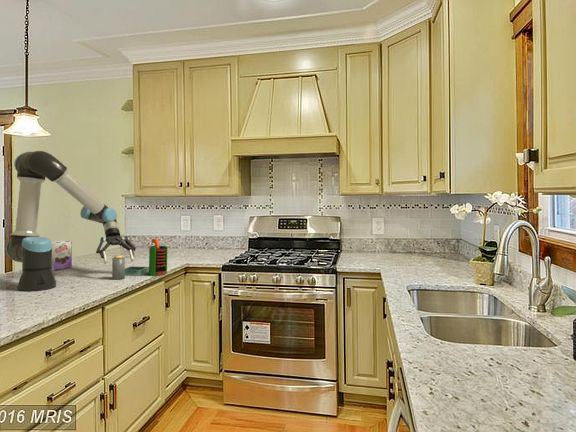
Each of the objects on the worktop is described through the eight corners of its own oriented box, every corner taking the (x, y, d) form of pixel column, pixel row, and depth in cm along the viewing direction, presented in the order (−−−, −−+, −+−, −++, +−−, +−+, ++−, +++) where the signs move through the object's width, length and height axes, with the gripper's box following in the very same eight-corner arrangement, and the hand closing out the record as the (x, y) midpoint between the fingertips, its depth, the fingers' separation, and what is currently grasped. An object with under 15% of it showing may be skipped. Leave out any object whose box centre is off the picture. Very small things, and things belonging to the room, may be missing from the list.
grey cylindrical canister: (121, 280, 200) (121, 256, 199) (110, 279, 200) (110, 256, 199) (126, 277, 206) (126, 255, 205) (115, 277, 206) (115, 254, 205)
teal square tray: (142, 276, 211) (142, 270, 211) (121, 275, 211) (121, 269, 211) (150, 272, 222) (150, 266, 222) (130, 271, 222) (130, 266, 222)
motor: (159, 276, 210) (160, 240, 209) (145, 275, 212) (145, 239, 211) (169, 273, 220) (169, 238, 219) (155, 272, 222) (155, 238, 221)
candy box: (51, 271, 219) (50, 242, 218) (43, 270, 221) (43, 242, 220) (72, 267, 232) (72, 240, 231) (65, 266, 234) (64, 239, 233)
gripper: (133, 234, 227) (141, 263, 216) (86, 236, 212) (92, 267, 201) (136, 226, 223) (144, 255, 212) (88, 227, 207) (95, 259, 196)
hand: (119, 261), depth 206 cm, fingers open, 13 cm apart
